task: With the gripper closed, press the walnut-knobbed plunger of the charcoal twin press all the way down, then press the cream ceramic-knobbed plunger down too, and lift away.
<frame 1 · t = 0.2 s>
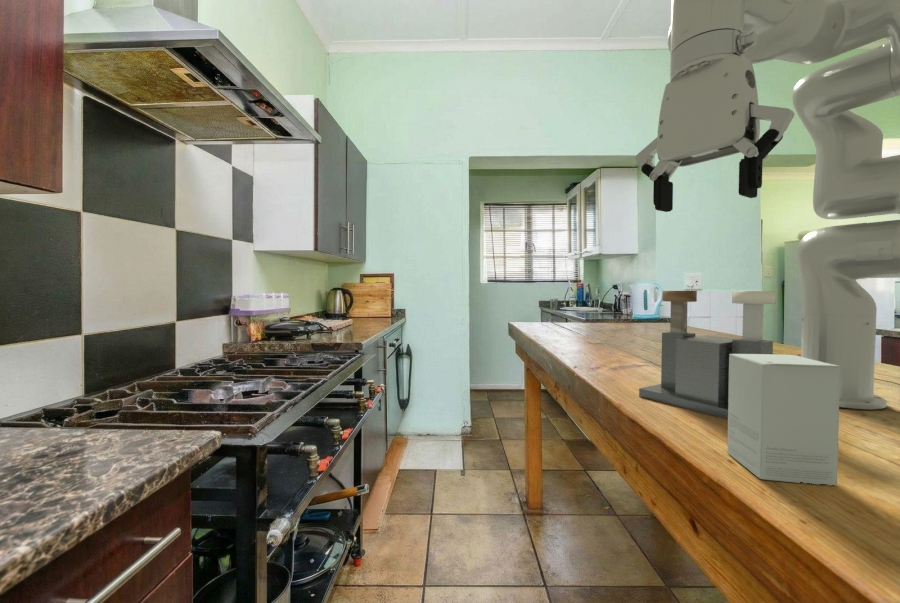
hand: (702, 204, 49), 31 cm above the table, tool pointing down, fingers open, 9 cm apart
twin press: (711, 403, 69), on the table
walnut plunger: (678, 322, 74), point 14 cm above the table, slide at 0.0 cm
supplement box: (776, 470, 45), on the table
cream plunger: (752, 328, 64), point 14 cm above the table, slide at 0.0 cm
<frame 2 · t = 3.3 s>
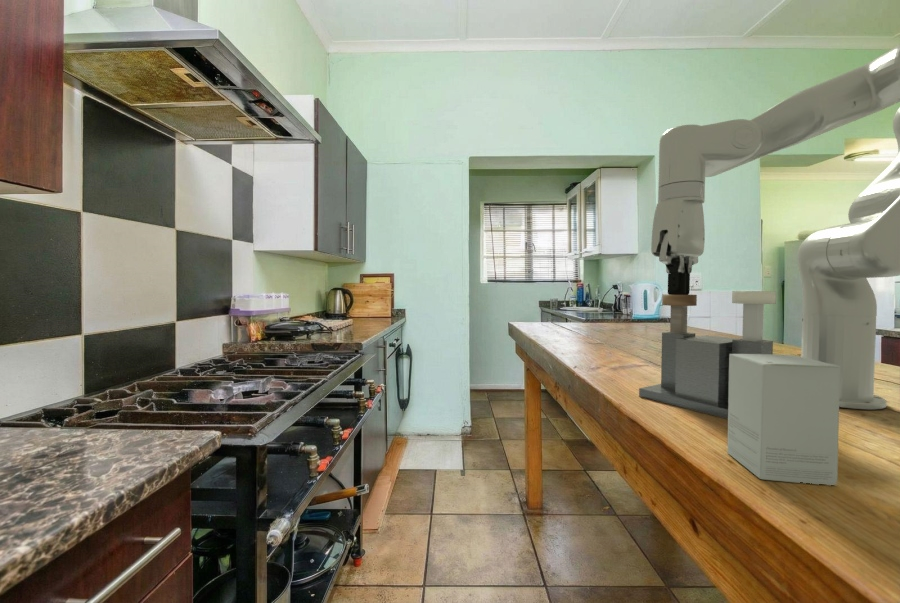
hand: (678, 294, 74), 19 cm above the table, tool pointing down, fingers closed
walnut plunger: (678, 326, 74), point 13 cm above the table, slide at 0.8 cm, touching gripper
everything else where it was.
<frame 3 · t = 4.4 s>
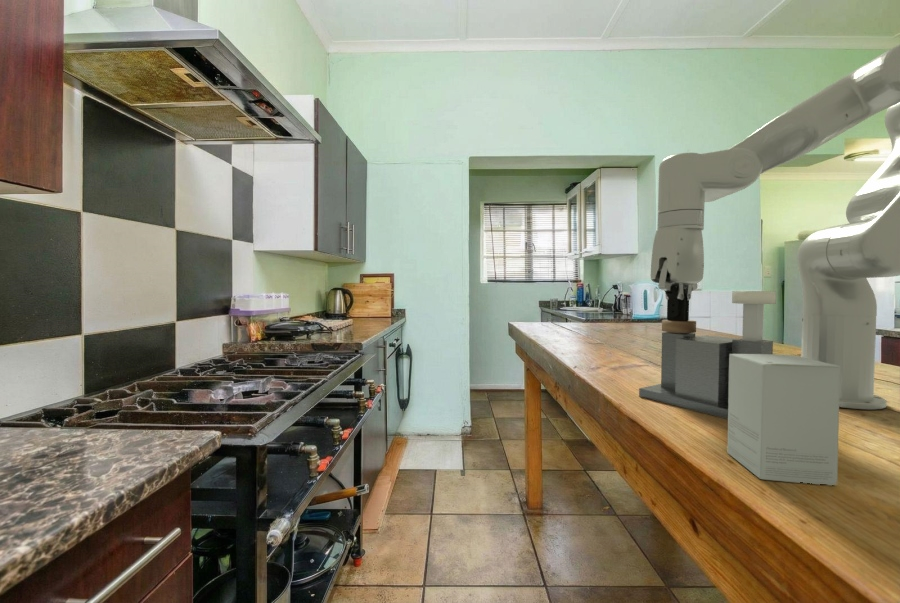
hand: (677, 320, 74), 14 cm above the table, tool pointing down, fingers closed
walnut plunger: (678, 352, 74), point 8 cm above the table, slide at 5.7 cm, touching gripper
everything else where it was.
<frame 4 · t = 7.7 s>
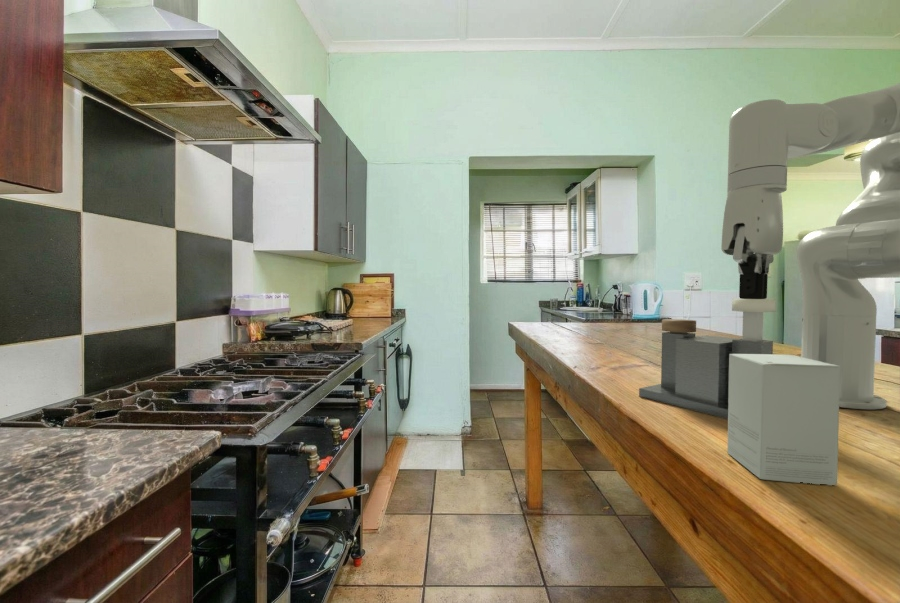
hand: (752, 298, 63), 19 cm above the table, tool pointing down, fingers closed
walnut plunger: (678, 351, 74), point 8 cm above the table, slide at 5.6 cm
cream plunger: (752, 335, 64), point 13 cm above the table, slide at 1.3 cm, touching gripper
everything else where it was.
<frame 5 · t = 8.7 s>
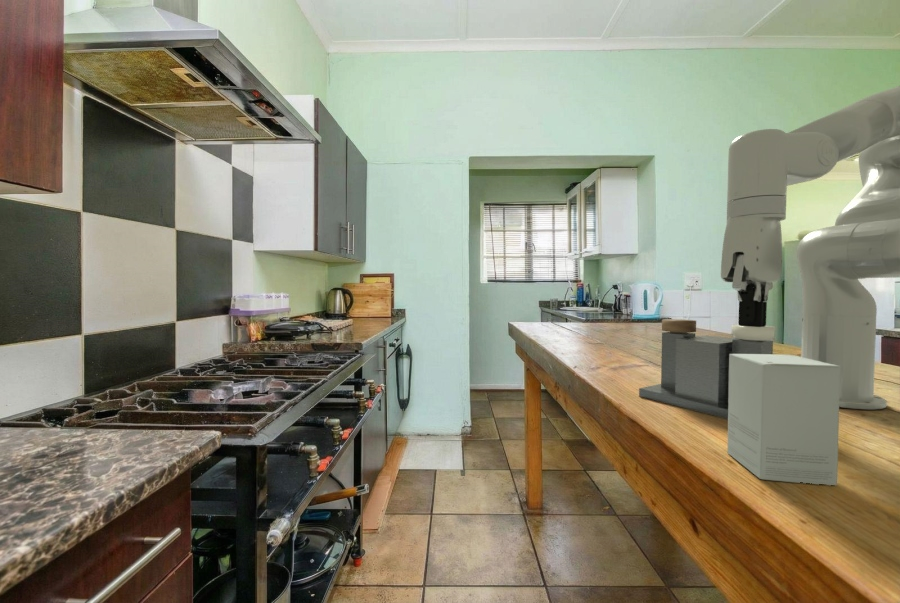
hand: (751, 325, 64), 14 cm above the table, tool pointing down, fingers closed
cream plunger: (751, 362, 64), point 8 cm above the table, slide at 5.7 cm, touching gripper
everything else where it was.
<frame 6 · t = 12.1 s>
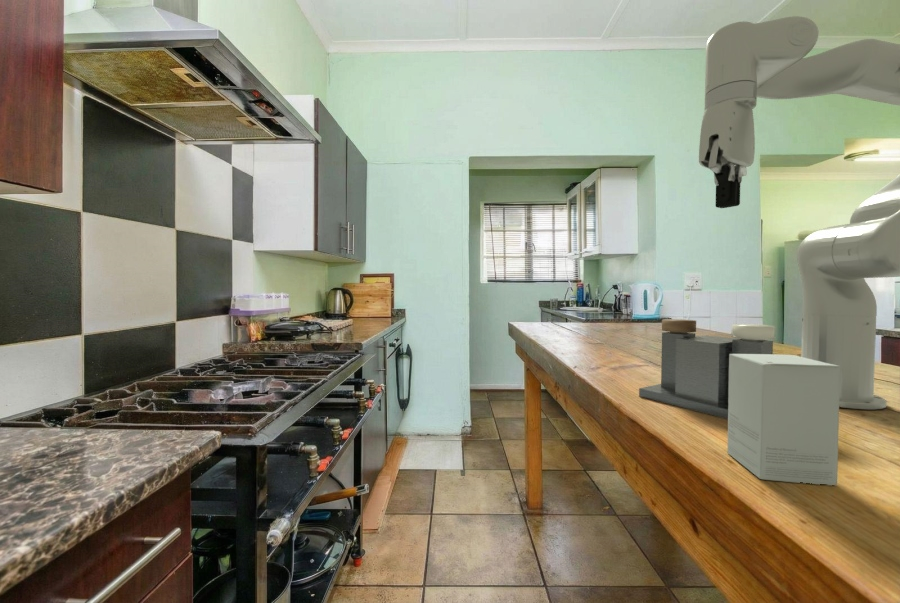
hand: (727, 206, 70), 35 cm above the table, tool pointing down, fingers closed
cream plunger: (751, 362, 64), point 8 cm above the table, slide at 5.6 cm
everything else where it was.
at the end: walnut plunger slide at 5.6 cm; cream plunger slide at 5.6 cm; supplement box moved 0.3 cm from its start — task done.
